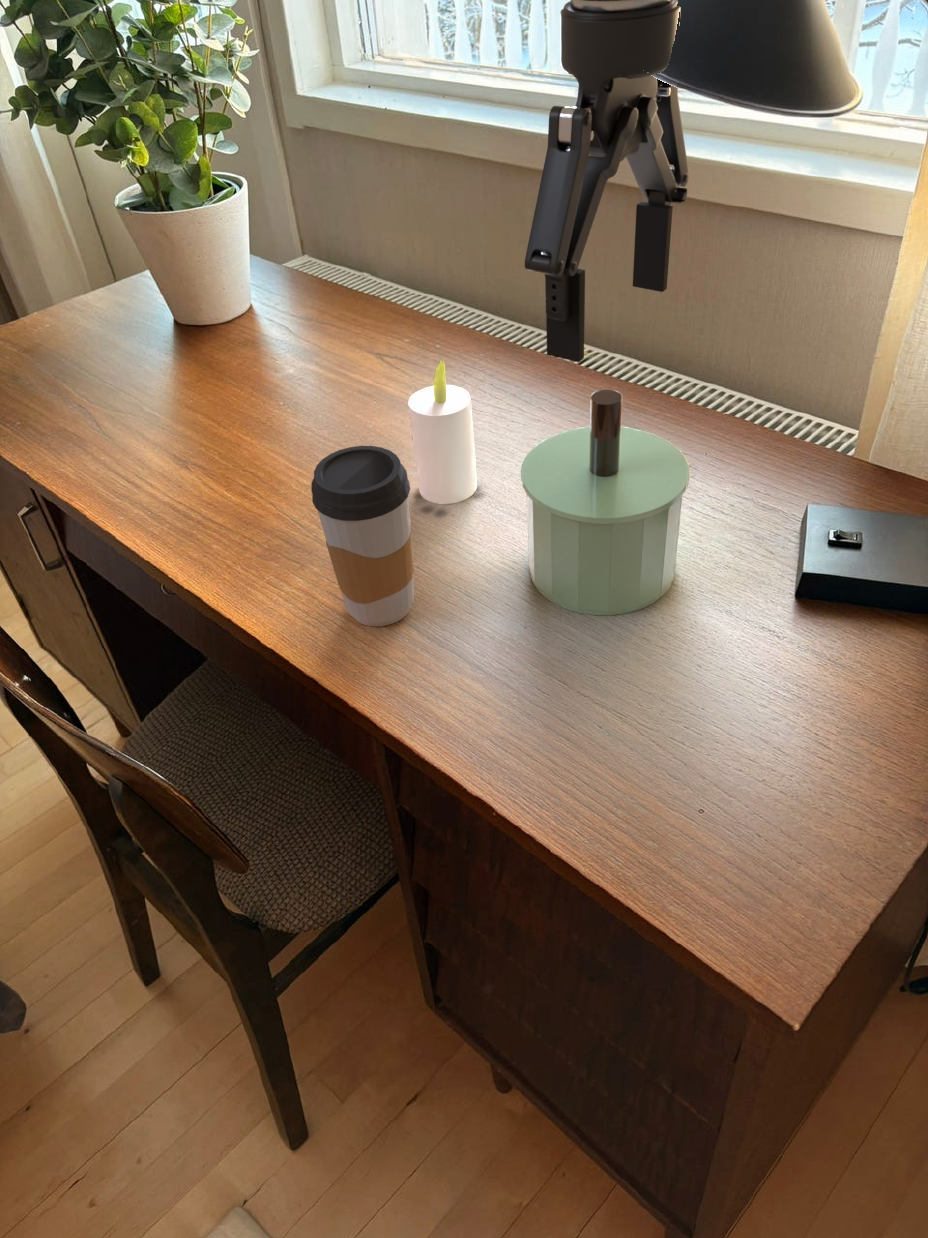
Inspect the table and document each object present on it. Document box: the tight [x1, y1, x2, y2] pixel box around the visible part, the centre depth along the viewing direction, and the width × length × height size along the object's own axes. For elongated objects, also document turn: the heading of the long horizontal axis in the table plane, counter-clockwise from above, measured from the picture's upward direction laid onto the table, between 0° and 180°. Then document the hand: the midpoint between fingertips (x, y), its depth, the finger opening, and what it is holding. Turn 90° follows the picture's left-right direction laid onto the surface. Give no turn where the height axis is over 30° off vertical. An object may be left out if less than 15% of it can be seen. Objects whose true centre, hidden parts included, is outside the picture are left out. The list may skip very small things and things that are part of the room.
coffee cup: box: [310, 445, 415, 627], centre depth 83 cm, size 8×8×15 cm
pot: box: [525, 493, 683, 616], centre depth 86 cm, size 14×14×10 cm
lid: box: [520, 388, 691, 524], centre depth 80 cm, size 15×15×8 cm
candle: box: [407, 359, 478, 505], centre depth 97 cm, size 6×6×15 cm
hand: (609, 320), depth 73 cm, fingers open, 13 cm apart
